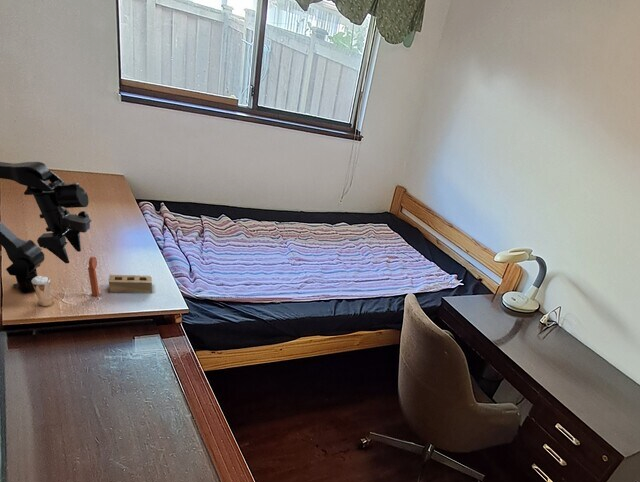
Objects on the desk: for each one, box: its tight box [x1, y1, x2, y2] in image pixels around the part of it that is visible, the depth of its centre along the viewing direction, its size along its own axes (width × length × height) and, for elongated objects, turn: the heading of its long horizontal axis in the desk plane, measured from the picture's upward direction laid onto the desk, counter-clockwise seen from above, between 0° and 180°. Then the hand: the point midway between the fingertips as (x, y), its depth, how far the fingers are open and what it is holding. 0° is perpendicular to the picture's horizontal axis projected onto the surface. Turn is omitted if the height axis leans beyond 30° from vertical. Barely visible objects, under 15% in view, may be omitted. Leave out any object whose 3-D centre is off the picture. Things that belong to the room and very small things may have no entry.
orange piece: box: [87, 256, 100, 297], centre depth 149 cm, size 2×4×14 cm, turn 10°
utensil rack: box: [108, 274, 153, 294], centre depth 159 cm, size 5×13×4 cm, turn 113°
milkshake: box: [31, 275, 53, 307], centre depth 140 cm, size 4×5×10 cm
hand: (73, 257), depth 143 cm, fingers open, 9 cm apart
